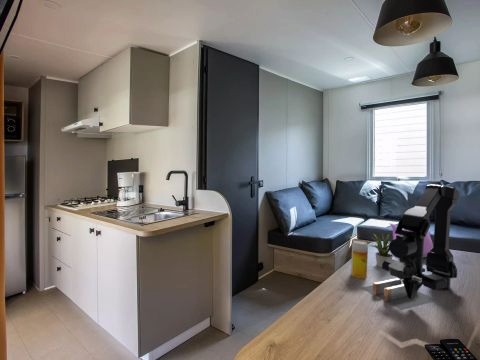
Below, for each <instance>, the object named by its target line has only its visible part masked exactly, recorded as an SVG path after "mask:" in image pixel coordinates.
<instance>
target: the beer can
mask: <svg viewBox="0 0 480 360" xmlns="http://www.w3.org/2000/svg"><path fill="white" fill-rule="evenodd" d="M351 244H352V245H351V262H350V263H351V265H350V267H351V268H350V275H351V276H352V277H355V278H358V279H366V278H367V277H368V274H367V273H368V254H369V253H368V252H369V251H368V250H369V246H368V243H367V242H366V241H362V240H353V241H352V243H351Z"/></svg>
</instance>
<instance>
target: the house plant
mask: <svg viewBox="0 0 480 360" xmlns="http://www.w3.org/2000/svg"><path fill="white" fill-rule="evenodd" d="M389 233H390V232H389ZM389 233H388V234H387V236H386V237H385V236H384V234H383V232H382V233H381V234H382V240H381V238H379V237H378V235H376V234H374V233H373V236H374V237H372V239H373V240H374V242H375V243H376V244H377V245H376V244H375V245H374V244H372V245H370V246H368V248H370V247H373V248H376V249H377V252H376V253H375V261H376V262H375V263H376V266H378V267H379V268H382V263H383V261H386V260H392V259H393V257H394V255H393V254H392V253H391V252H390V250H389V244H390V242H391V241H389V240H390V234H389ZM389 252H390V253H389Z"/></svg>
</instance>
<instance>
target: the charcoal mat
mask: <svg viewBox="0 0 480 360" xmlns="http://www.w3.org/2000/svg"><path fill="white" fill-rule="evenodd" d="M360 289H361V290H363V291H365V292H367V293H369V294H371V295H373V284H371V285H368V286H363V287H360ZM373 296H374V297H377V298H378V299H380V300H382V301H384V302H385V303H388V304H389V305H391V306H393V307H396V308H397V309H399V310H401V311H404V310H406V309H411V308H413V307H417V306H421V305H422V306H423V305H425V304H429V303H432V302H437V301H438V299H436V298H434V297H431V296H430V295H428V294H426V293H422V292H420V291H419V290H418V291H417V293H416V294H415V296H414V297H413V299H409V298H408V296H406V297H402V298H398V299H394V300H391V301H385V300H384V294H380V295H376V296H375V295H373Z"/></svg>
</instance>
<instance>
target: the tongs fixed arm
mask: <svg viewBox="0 0 480 360" xmlns="http://www.w3.org/2000/svg"><path fill="white" fill-rule="evenodd" d="M401 284H402V280H401V279H399V278H398V277H395V278H390V279H386V280H382V281H381V280H380V281H376V282H373V283H372V285H373V296H374V295H375V296H374V297H376V295H380V294H384V288H387V287H392V286H397V285H401Z"/></svg>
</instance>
